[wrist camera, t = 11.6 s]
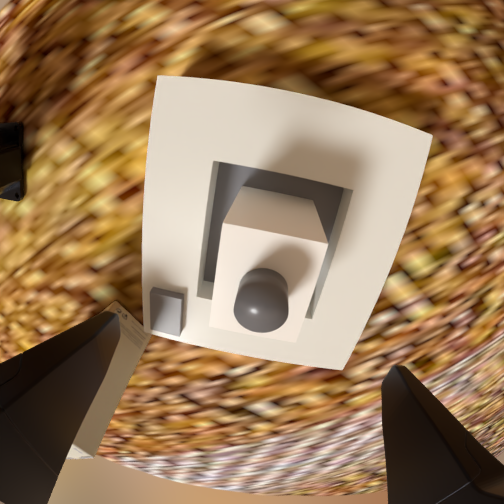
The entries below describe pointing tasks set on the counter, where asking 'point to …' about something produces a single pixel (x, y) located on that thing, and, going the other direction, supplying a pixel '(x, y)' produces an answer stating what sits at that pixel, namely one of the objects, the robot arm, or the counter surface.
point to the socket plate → (281, 181)
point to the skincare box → (111, 384)
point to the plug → (267, 264)
